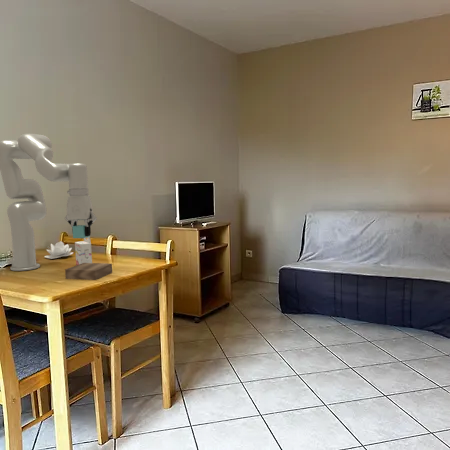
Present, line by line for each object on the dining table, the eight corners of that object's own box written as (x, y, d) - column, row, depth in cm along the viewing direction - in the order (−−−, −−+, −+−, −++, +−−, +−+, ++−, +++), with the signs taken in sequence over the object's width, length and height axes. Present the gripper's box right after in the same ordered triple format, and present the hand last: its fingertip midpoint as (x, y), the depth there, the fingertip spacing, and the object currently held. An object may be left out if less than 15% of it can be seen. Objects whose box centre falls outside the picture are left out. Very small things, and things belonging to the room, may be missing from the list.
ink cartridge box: (75, 266, 198) (73, 235, 197) (85, 264, 202) (83, 234, 200) (82, 268, 192) (80, 237, 190) (92, 267, 195) (91, 236, 194)
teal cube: (73, 238, 173) (72, 226, 172) (79, 236, 178) (79, 225, 177) (83, 238, 172) (83, 226, 171) (90, 236, 177) (89, 224, 176)
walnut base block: (65, 278, 172) (65, 269, 172) (84, 271, 186) (83, 262, 185) (96, 280, 169) (95, 270, 169) (112, 272, 183) (111, 263, 182)
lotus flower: (38, 259, 218) (37, 243, 217) (58, 254, 232) (57, 239, 231) (59, 260, 213) (58, 244, 212) (79, 255, 227) (78, 240, 226)
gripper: (55, 193, 171) (58, 236, 173) (92, 193, 167) (95, 237, 169) (66, 193, 178) (69, 234, 180) (101, 192, 175) (104, 234, 176)
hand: (81, 235), depth 175 cm, fingers closed on teal cube, 5 cm apart
